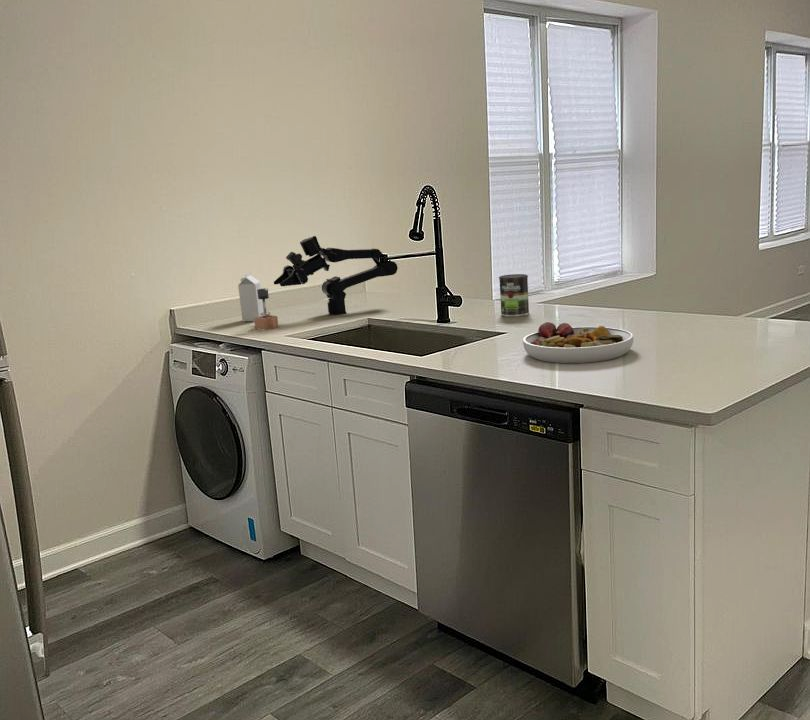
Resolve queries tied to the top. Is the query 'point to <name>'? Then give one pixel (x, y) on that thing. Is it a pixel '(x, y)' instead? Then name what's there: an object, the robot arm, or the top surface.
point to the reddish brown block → (266, 322)
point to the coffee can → (514, 295)
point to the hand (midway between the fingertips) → (277, 284)
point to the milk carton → (250, 298)
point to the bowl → (577, 343)
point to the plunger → (263, 299)
